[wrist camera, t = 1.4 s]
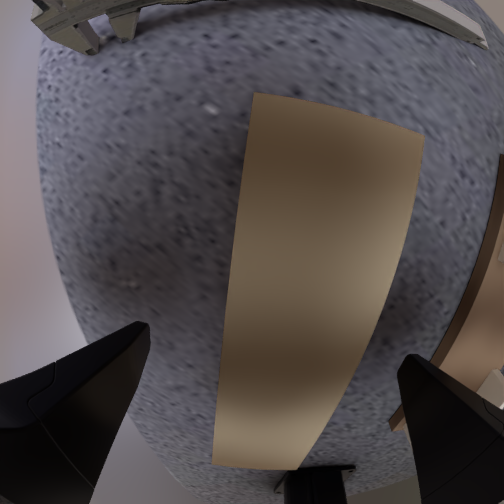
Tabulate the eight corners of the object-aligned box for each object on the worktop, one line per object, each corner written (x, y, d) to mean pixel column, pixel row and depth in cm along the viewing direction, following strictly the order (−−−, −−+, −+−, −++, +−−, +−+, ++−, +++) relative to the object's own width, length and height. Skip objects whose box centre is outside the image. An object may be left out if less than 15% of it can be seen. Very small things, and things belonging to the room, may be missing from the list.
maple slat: (290, 398, 14) (296, 469, 10) (222, 392, 14) (211, 464, 10) (356, 141, 10) (425, 136, 5) (257, 122, 10) (253, 92, 5)
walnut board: (462, 407, 15) (466, 414, 14) (388, 421, 15) (391, 431, 14) (555, 201, 9) (564, 204, 8) (500, 154, 9) (512, 155, 8)
